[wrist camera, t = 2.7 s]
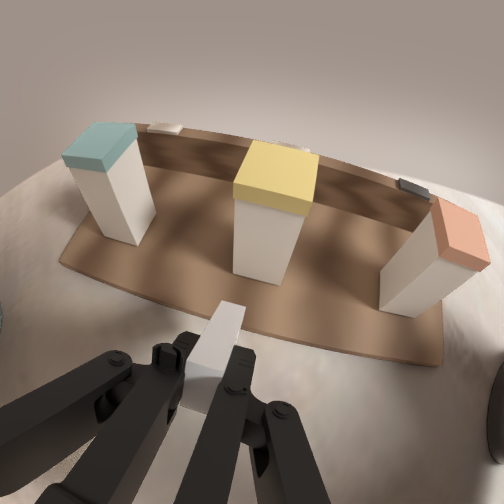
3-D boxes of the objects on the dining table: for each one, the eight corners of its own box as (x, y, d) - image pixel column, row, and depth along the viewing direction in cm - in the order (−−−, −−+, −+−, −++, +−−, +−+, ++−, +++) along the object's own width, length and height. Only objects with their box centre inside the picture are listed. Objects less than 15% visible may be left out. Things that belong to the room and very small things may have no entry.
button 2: (157, 212, 26) (135, 123, 17) (138, 247, 23) (101, 159, 15) (123, 204, 26) (94, 121, 17) (103, 236, 24) (61, 155, 15)
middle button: (290, 245, 25) (319, 155, 16) (280, 287, 22) (312, 201, 14) (244, 234, 25) (253, 139, 16) (231, 273, 23) (233, 182, 14)
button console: (429, 235, 29) (456, 202, 23) (436, 366, 20) (481, 348, 15) (133, 161, 31) (123, 119, 26) (63, 265, 23) (32, 228, 18)
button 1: (414, 279, 24) (477, 215, 15) (415, 319, 21) (490, 263, 13) (379, 269, 24) (437, 196, 15) (377, 310, 22) (449, 246, 13)
